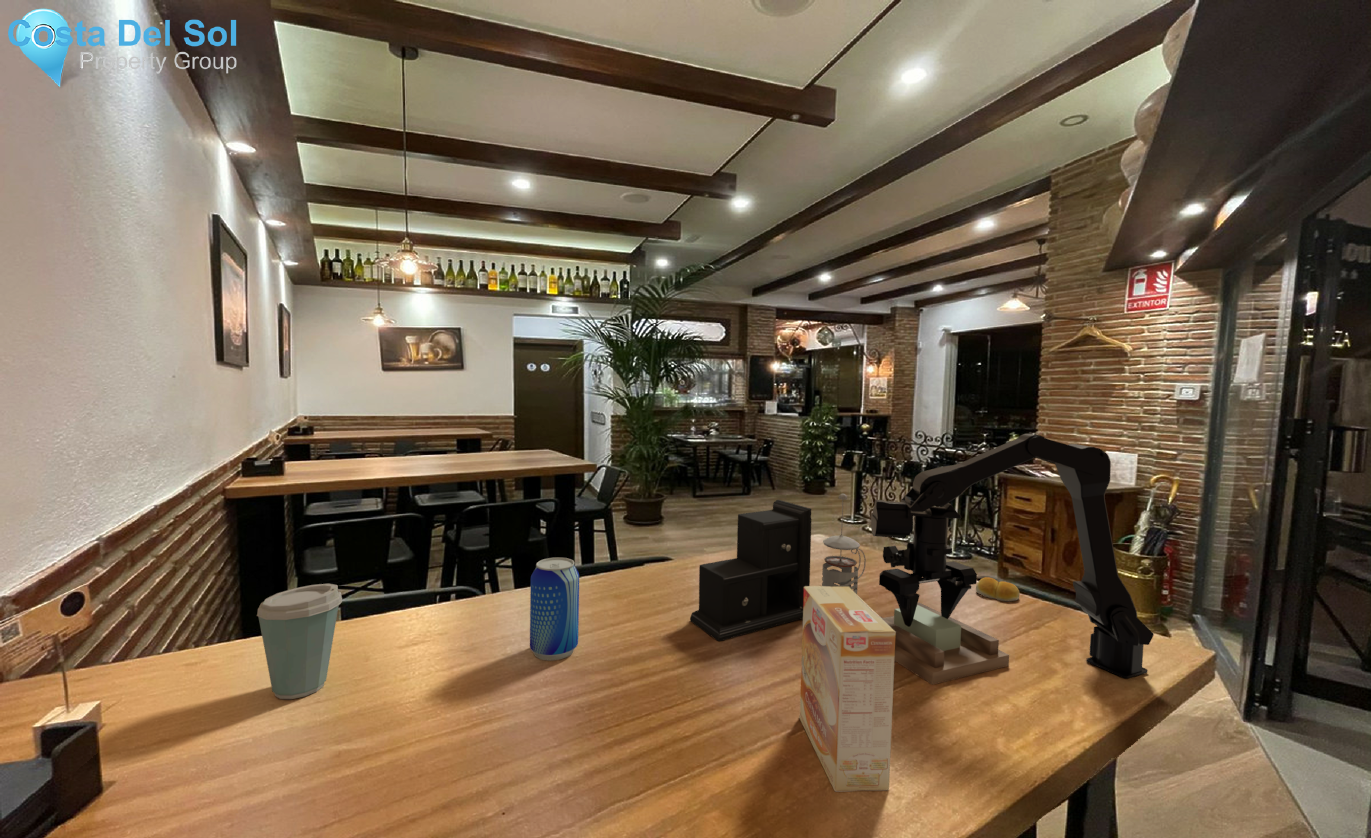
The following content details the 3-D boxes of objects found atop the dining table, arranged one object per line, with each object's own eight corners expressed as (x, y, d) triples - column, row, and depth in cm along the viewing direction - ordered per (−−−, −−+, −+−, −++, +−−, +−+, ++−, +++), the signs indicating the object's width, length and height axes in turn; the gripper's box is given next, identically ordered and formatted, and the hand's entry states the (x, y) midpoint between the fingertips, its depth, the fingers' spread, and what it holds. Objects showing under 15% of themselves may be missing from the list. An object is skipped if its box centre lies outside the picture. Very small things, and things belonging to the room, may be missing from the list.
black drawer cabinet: (718, 642, 101) (722, 519, 100) (688, 621, 110) (691, 508, 109) (810, 618, 113) (814, 508, 112) (776, 601, 122) (779, 499, 121)
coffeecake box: (797, 717, 78) (802, 585, 77) (845, 716, 78) (850, 585, 78) (832, 793, 63) (839, 631, 62) (891, 791, 64) (898, 630, 63)
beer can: (519, 655, 94) (520, 565, 93) (552, 636, 102) (553, 553, 101) (556, 667, 90) (557, 574, 89) (587, 647, 98) (589, 560, 97)
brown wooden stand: (1008, 665, 95) (1009, 641, 94) (932, 684, 88) (933, 657, 87) (919, 620, 113) (920, 599, 113) (851, 633, 106) (851, 611, 106)
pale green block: (960, 647, 97) (961, 625, 97) (935, 652, 95) (936, 630, 94) (917, 624, 106) (917, 605, 106) (893, 629, 104) (894, 609, 104)
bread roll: (1017, 605, 123) (1018, 588, 123) (973, 595, 129) (974, 579, 129) (1021, 595, 130) (1022, 579, 130) (979, 586, 136) (980, 571, 135)
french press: (807, 597, 125) (811, 491, 123) (846, 591, 129) (850, 488, 128) (836, 613, 116) (840, 499, 114) (877, 606, 121) (881, 495, 119)
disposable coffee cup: (241, 712, 76) (240, 608, 75) (277, 674, 86) (276, 582, 85) (327, 702, 79) (327, 602, 78) (352, 666, 89) (351, 577, 88)
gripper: (932, 526, 110) (929, 600, 111) (860, 532, 103) (857, 612, 104) (980, 540, 100) (976, 622, 101) (904, 548, 93) (900, 636, 94)
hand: (926, 622), depth 100 cm, fingers open, 9 cm apart
